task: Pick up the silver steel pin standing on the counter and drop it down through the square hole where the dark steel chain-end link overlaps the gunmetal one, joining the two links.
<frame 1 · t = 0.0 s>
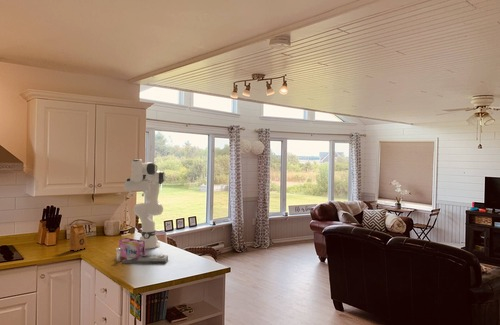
hand: (137, 196, 295), 48 cm above the worktop, fingers open, 8 cm apart
coffee package: (78, 250, 316), on the worktop
gum box: (131, 257, 291), on the worktop
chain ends: (145, 262, 276), on the worktop
pin: (118, 261, 279), on the worktop
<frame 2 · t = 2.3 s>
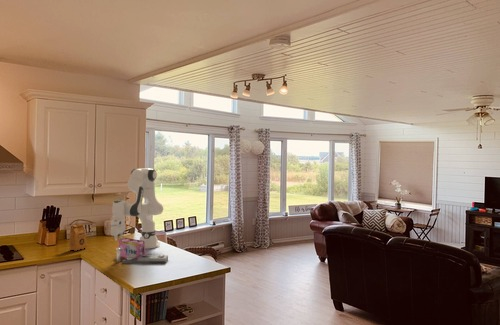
hand: (118, 239, 278), 17 cm above the worktop, fingers open, 8 cm apart
nothing on the worktop moved.
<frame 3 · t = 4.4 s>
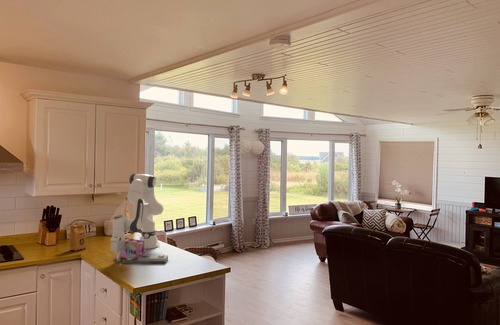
hand: (118, 255, 279), 5 cm above the worktop, fingers closed on pin, 3 cm apart
pin: (118, 261, 279), on the worktop, touching gripper
everything else where it was.
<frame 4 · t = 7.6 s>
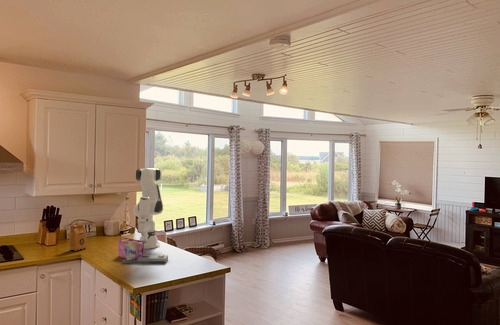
hand: (145, 236, 276), 19 cm above the worktop, fingers closed on pin, 3 cm apart
pin: (145, 242, 276), point 15 cm above the worktop, touching gripper
everything else where it was.
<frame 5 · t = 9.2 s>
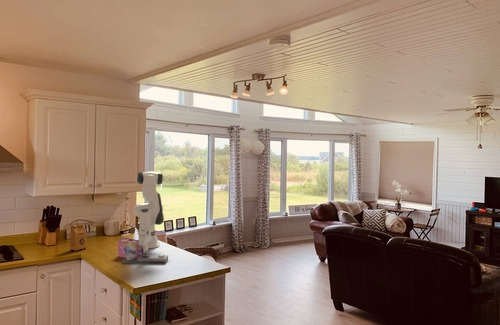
hand: (145, 249, 276), 10 cm above the worktop, fingers closed on pin, 3 cm apart
pin: (145, 255, 276), point 5 cm above the worktop, touching gripper
everything else where it was.
when the fingers open (6 cm above the worktop, at t = 10.7 s): pin stays where it is, resting in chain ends.
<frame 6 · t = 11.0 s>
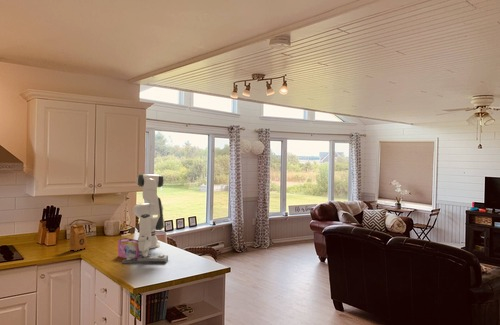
hand: (145, 254, 276), 6 cm above the worktop, fingers open, 6 cm apart
pin: (145, 262, 277), resting in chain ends
everything else where it was.
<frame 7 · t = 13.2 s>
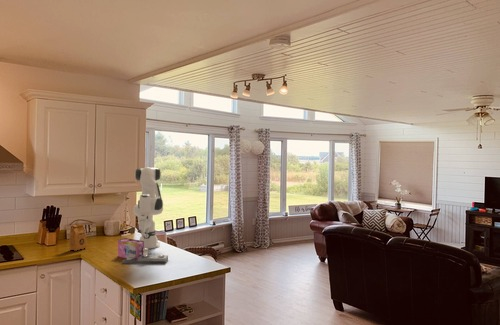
hand: (145, 234, 277), 21 cm above the worktop, fingers open, 8 cm apart
nothing on the worktop moved.
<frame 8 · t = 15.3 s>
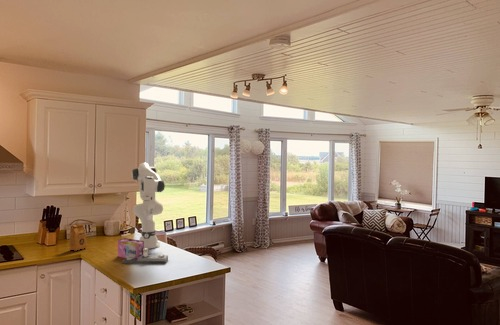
hand: (149, 214, 287), 34 cm above the worktop, fingers open, 8 cm apart
nothing on the worktop moved.
at the end: pin 0.1 cm off-centre on the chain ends, point 0.0 cm above the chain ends's base; pin tilted 0°; the gripper is holding nothing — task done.
